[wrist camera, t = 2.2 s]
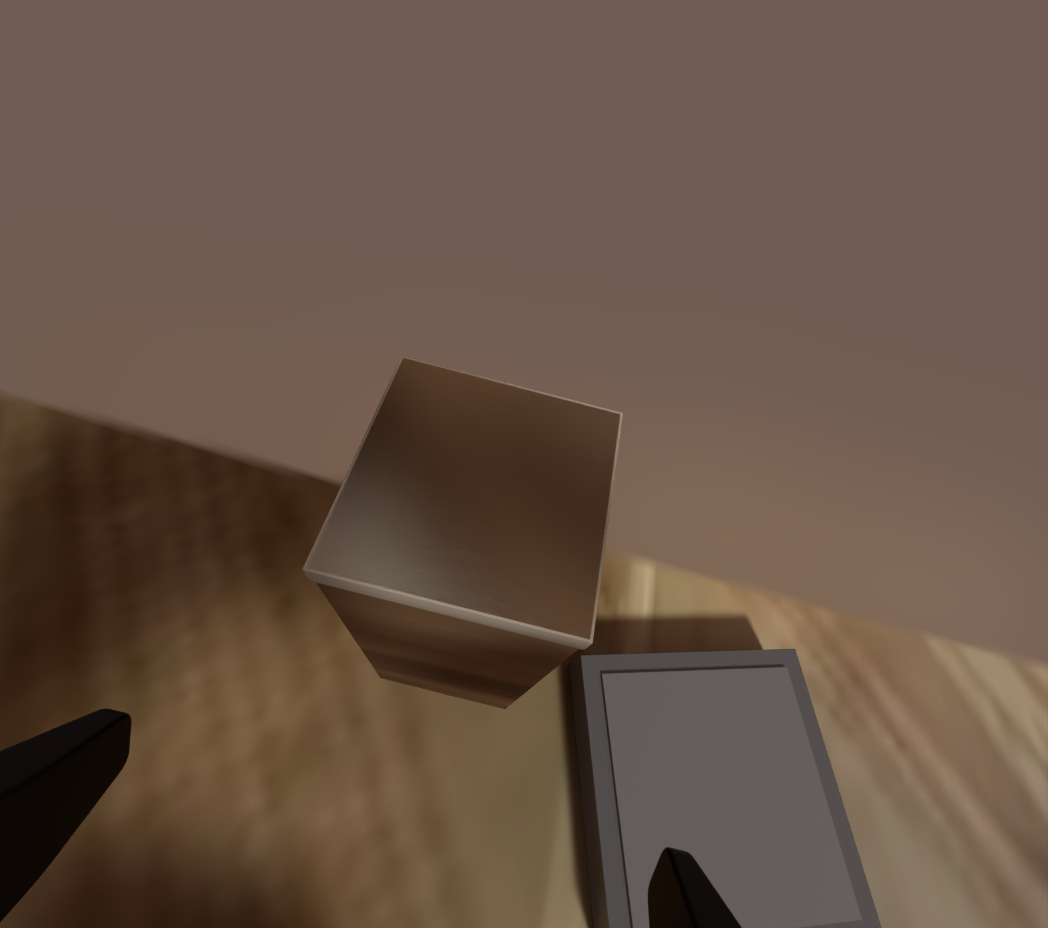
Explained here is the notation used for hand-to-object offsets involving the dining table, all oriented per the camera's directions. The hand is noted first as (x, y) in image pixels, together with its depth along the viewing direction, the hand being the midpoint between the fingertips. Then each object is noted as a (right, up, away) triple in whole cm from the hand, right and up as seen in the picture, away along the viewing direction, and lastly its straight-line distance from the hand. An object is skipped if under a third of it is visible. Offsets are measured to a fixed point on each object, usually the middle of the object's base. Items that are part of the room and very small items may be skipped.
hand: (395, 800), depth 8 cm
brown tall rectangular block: (-1, -1, +13) cm, 13 cm away
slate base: (+9, -7, +11) cm, 16 cm away
